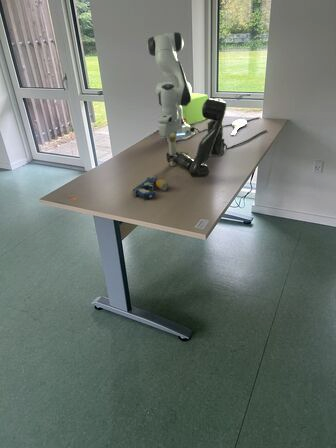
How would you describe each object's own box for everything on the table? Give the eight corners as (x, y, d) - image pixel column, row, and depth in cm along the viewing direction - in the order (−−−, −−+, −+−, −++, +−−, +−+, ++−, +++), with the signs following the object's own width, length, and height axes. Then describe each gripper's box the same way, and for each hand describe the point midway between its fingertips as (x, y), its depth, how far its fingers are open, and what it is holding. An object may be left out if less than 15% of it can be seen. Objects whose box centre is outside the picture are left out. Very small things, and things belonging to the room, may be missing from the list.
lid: (173, 138, 197) (173, 134, 196) (177, 140, 194) (177, 136, 192) (166, 139, 196) (166, 136, 195) (169, 141, 192) (169, 138, 191)
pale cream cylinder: (171, 166, 200) (169, 139, 192) (169, 164, 204) (167, 137, 195) (178, 164, 202) (176, 137, 193) (175, 162, 205) (173, 136, 196)
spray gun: (173, 183, 178) (149, 181, 184) (172, 176, 176) (148, 174, 182) (155, 202, 162) (129, 198, 169) (154, 194, 160) (128, 191, 167)
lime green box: (191, 115, 302) (190, 88, 290) (208, 118, 288) (208, 90, 276) (170, 121, 289) (168, 93, 277) (187, 125, 275) (185, 95, 263)
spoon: (240, 137, 241) (240, 135, 240) (225, 137, 245) (225, 134, 244) (248, 121, 267) (248, 119, 266) (234, 121, 271) (234, 118, 270)
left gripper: (173, 111, 197) (175, 134, 204) (156, 120, 182) (158, 144, 189) (183, 111, 194) (184, 135, 201) (166, 120, 179) (168, 145, 186)
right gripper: (195, 152, 189) (180, 144, 202) (172, 158, 184) (159, 149, 197) (195, 165, 193) (181, 156, 206) (173, 170, 188) (160, 161, 201)
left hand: (171, 140), depth 195 cm, fingers closed on lid, 4 cm apart
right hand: (170, 153), depth 202 cm, fingers closed on pale cream cylinder, 4 cm apart
